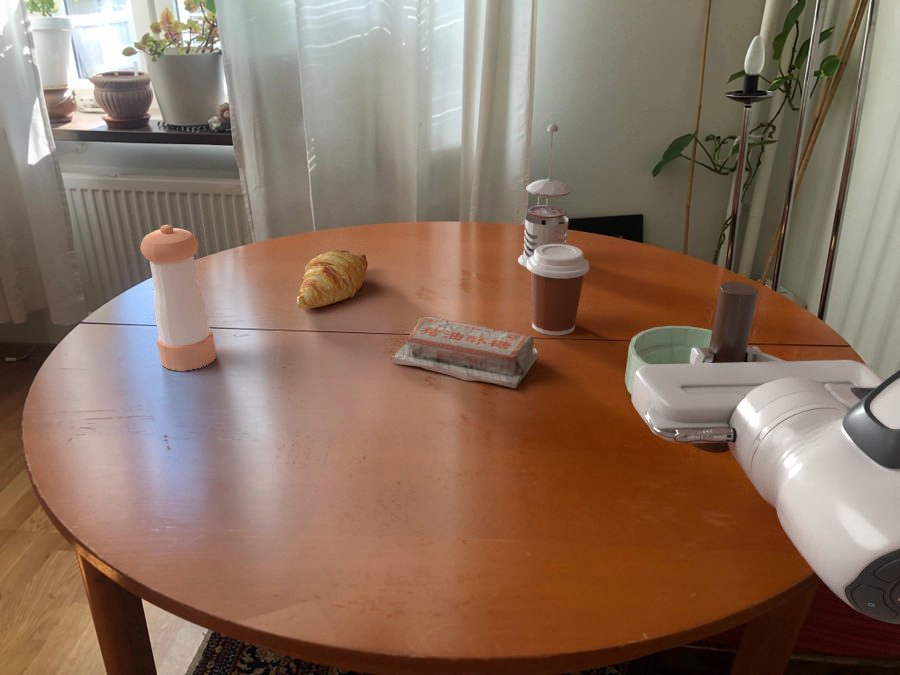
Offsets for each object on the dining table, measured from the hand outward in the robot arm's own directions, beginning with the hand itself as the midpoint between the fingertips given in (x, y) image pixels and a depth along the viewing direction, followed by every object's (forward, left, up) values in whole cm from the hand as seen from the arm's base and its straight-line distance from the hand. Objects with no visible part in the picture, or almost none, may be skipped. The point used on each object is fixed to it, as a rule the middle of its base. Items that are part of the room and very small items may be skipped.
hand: (722, 353), depth 69 cm
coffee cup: (-1, -42, -17) cm, 45 cm away
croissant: (+30, -64, -17) cm, 72 cm away
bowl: (-10, -19, -16) cm, 27 cm away
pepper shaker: (+52, -44, -17) cm, 70 cm away
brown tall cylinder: (0, +1, -9) cm, 9 cm away
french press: (-10, -70, -17) cm, 72 cm away
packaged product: (+15, -34, -17) cm, 41 cm away
